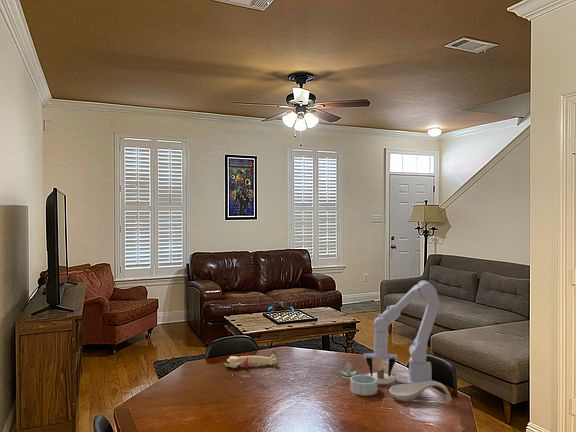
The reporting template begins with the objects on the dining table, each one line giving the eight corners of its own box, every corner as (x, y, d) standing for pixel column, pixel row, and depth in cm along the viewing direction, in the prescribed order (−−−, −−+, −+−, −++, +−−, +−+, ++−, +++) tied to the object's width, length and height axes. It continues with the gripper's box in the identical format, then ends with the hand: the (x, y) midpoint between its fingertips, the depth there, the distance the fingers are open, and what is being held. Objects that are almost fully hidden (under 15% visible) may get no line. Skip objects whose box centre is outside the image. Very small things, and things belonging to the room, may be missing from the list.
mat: (394, 375, 213) (394, 374, 213) (398, 386, 199) (398, 385, 199) (363, 373, 215) (363, 372, 215) (365, 385, 201) (365, 383, 201)
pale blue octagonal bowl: (376, 386, 199) (376, 375, 199) (378, 397, 188) (378, 384, 188) (350, 385, 200) (350, 374, 200) (350, 395, 189) (350, 383, 189)
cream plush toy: (274, 364, 233) (224, 362, 229) (276, 346, 233) (225, 345, 229) (277, 371, 223) (224, 369, 219) (278, 352, 223) (226, 351, 219)
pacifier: (357, 379, 208) (356, 374, 214) (357, 366, 207) (356, 361, 213) (340, 379, 208) (340, 374, 214) (340, 365, 208) (340, 361, 214)
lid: (393, 374, 212) (393, 365, 212) (397, 384, 200) (397, 375, 200) (364, 373, 214) (364, 364, 214) (366, 383, 201) (366, 374, 201)
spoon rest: (391, 404, 181) (391, 386, 181) (387, 393, 193) (387, 375, 193) (454, 406, 179) (454, 388, 179) (446, 394, 191) (446, 377, 191)
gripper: (396, 342, 210) (396, 372, 210) (363, 341, 211) (363, 371, 212) (398, 347, 203) (397, 378, 203) (364, 346, 204) (364, 377, 205)
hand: (380, 375), depth 207 cm, fingers open, 7 cm apart
